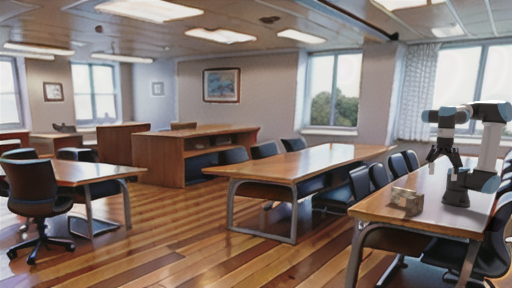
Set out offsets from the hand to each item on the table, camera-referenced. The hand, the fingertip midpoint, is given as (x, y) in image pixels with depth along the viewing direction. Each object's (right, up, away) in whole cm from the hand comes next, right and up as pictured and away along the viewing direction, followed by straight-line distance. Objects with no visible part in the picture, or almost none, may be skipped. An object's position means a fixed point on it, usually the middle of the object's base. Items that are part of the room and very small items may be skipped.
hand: (442, 177), depth 156 cm
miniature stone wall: (-6, -22, +16) cm, 28 cm away
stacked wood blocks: (-6, -20, +30) cm, 37 cm away
